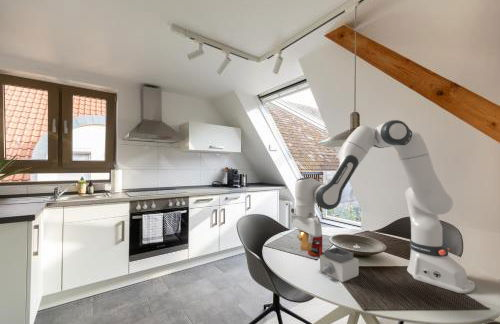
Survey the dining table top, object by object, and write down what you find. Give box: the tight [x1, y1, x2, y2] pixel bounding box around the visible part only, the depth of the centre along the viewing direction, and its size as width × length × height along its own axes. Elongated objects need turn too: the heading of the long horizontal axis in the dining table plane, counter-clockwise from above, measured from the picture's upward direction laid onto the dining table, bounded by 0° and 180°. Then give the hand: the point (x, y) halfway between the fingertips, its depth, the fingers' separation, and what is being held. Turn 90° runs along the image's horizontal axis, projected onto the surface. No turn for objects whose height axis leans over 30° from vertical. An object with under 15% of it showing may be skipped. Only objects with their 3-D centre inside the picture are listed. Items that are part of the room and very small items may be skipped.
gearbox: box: [319, 246, 360, 283], centre depth 103 cm, size 12×15×10 cm
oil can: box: [296, 231, 312, 252], centre depth 109 cm, size 8×5×8 cm
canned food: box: [307, 233, 323, 257], centre depth 126 cm, size 8×8×11 cm
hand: (305, 240), depth 109 cm, fingers closed on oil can, 5 cm apart
